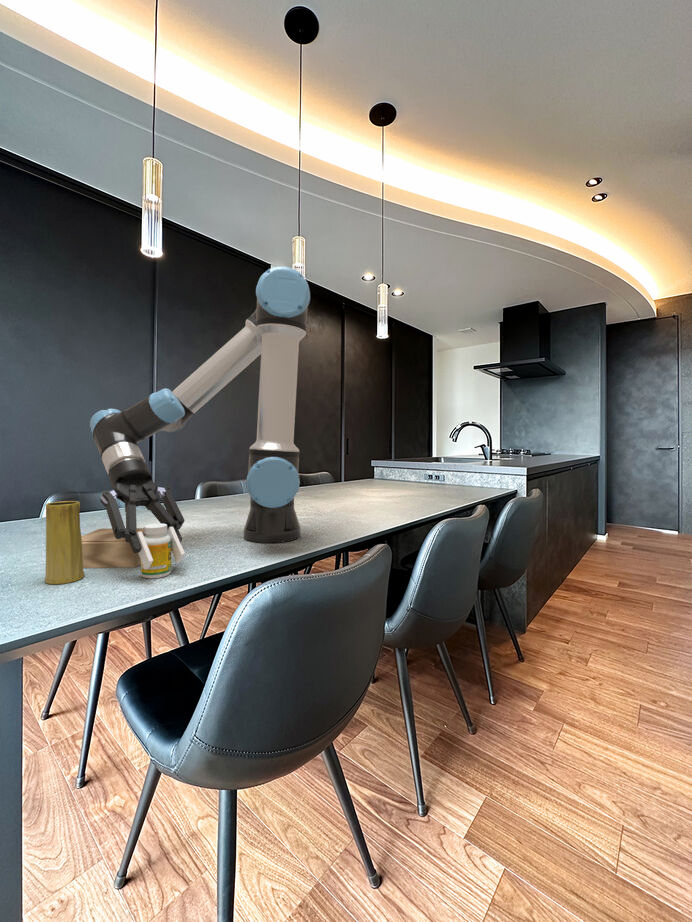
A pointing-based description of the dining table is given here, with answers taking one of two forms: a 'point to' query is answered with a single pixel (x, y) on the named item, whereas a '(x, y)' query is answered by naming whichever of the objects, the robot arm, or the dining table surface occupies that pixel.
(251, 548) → the dining table surface
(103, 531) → the stand
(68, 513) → the vase
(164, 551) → the supplement bottle
